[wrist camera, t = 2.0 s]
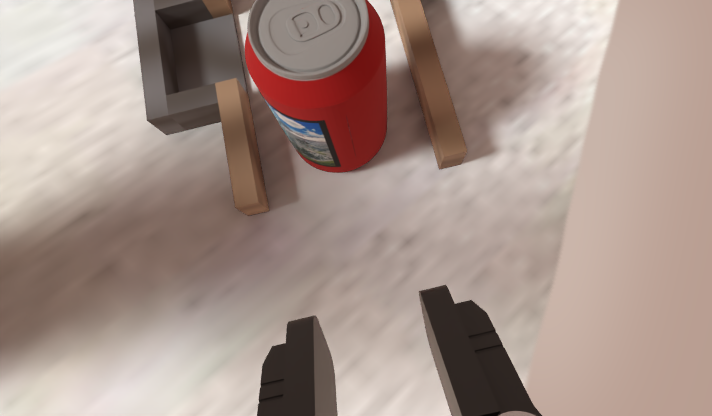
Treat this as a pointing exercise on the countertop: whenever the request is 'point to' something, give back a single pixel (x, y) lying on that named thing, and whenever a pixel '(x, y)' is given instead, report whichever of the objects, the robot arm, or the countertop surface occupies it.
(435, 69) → the channel
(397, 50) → the countertop surface
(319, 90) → the beverage can
